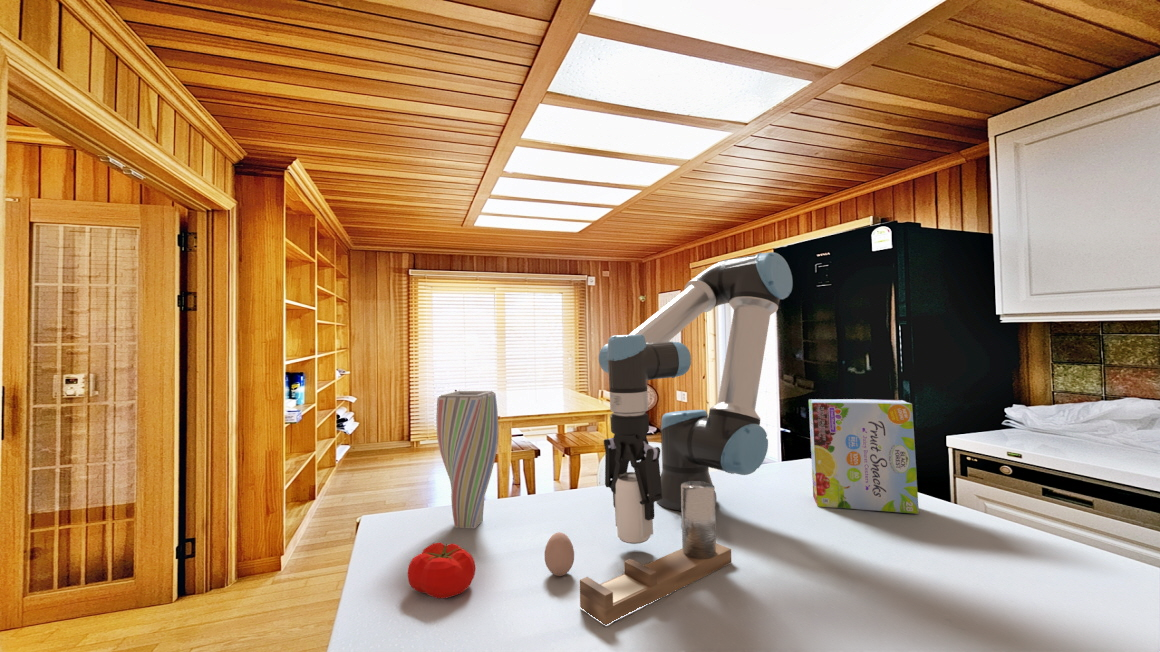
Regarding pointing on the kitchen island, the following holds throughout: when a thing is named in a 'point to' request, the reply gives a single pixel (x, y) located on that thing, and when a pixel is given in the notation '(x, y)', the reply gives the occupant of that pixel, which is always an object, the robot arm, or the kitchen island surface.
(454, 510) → the vase
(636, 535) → the can
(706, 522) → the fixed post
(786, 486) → the kitchen island surface
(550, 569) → the egg
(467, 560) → the tomato
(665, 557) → the rail
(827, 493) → the snack box
